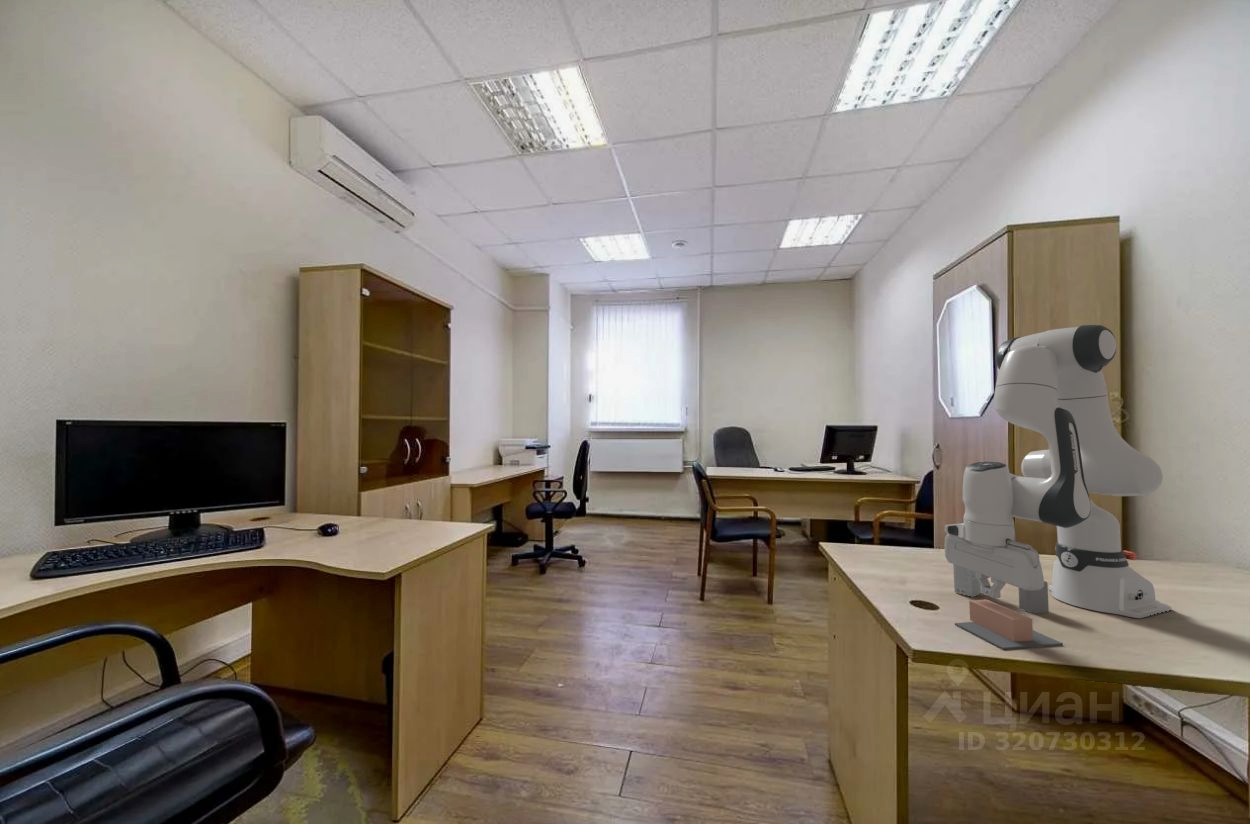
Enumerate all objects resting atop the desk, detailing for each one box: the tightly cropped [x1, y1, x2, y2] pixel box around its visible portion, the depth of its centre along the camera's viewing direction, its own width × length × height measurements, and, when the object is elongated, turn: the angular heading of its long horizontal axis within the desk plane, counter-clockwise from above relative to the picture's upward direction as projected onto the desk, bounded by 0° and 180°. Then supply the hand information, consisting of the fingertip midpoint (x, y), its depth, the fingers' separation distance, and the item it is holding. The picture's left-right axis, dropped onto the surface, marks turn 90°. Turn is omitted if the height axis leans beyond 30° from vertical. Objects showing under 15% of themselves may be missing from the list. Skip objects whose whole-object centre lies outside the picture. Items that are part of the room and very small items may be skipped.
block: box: [968, 599, 1034, 642], centre depth 94 cm, size 4×4×10 cm
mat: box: [954, 621, 1064, 651], centre depth 93 cm, size 14×11×1 cm
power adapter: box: [1017, 580, 1050, 614], centre depth 105 cm, size 3×5×12 cm, turn 96°
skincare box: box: [952, 564, 982, 598], centre depth 116 cm, size 6×4×12 cm
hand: (990, 595), depth 96 cm, fingers closed
